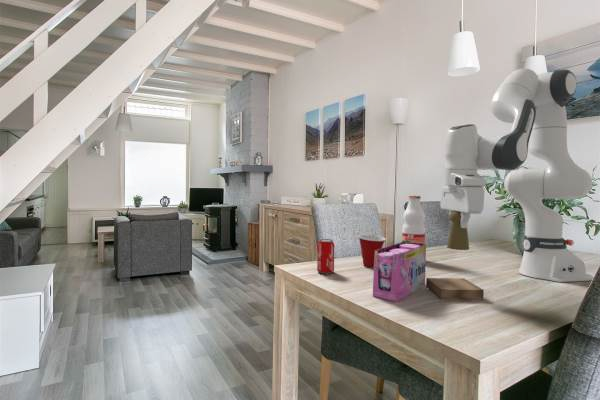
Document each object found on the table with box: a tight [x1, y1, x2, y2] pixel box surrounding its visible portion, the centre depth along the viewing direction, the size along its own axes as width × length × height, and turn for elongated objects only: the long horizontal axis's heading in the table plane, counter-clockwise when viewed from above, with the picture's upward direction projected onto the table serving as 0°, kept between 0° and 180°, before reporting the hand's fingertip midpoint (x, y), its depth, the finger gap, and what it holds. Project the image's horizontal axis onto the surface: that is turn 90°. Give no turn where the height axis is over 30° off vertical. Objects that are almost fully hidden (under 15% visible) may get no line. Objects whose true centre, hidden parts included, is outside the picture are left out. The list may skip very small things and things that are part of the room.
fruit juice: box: [401, 195, 426, 244], centre depth 149 cm, size 9×9×28 cm
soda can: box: [316, 238, 335, 275], centre depth 127 cm, size 6×6×12 cm
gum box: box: [372, 241, 427, 303], centre depth 106 cm, size 24×8×14 cm, turn 141°
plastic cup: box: [357, 234, 387, 269], centre depth 138 cm, size 11×11×12 cm
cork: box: [446, 211, 470, 251], centre depth 102 cm, size 6×6×11 cm
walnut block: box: [425, 277, 484, 301], centre depth 104 cm, size 12×12×3 cm
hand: (458, 226), depth 103 cm, fingers closed on cork, 4 cm apart
